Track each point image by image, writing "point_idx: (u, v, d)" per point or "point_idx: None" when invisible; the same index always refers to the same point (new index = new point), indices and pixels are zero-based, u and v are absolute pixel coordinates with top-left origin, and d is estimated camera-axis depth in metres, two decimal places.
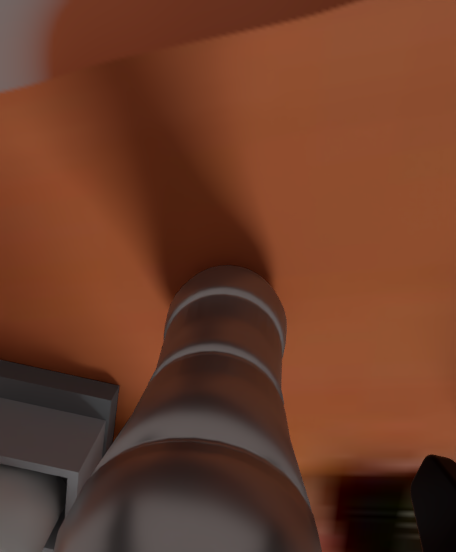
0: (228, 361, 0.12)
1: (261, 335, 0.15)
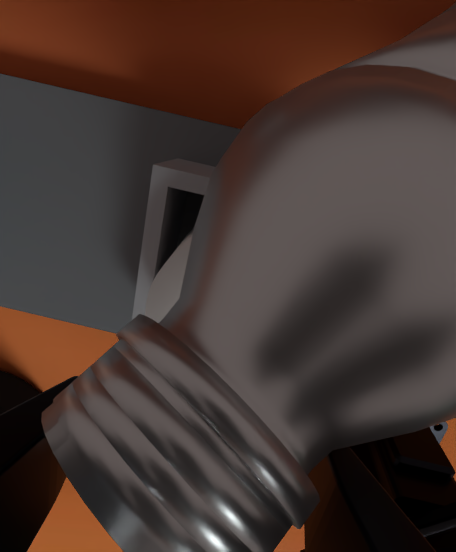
0: None
1: None
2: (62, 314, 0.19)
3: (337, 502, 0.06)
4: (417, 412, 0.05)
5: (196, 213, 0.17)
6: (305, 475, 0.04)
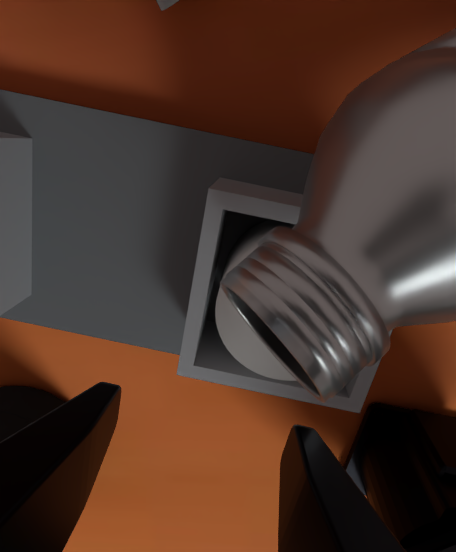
0: None
1: None
2: (101, 332, 0.19)
3: (307, 495, 0.06)
4: (446, 251, 0.07)
5: (237, 230, 0.17)
6: (356, 283, 0.07)
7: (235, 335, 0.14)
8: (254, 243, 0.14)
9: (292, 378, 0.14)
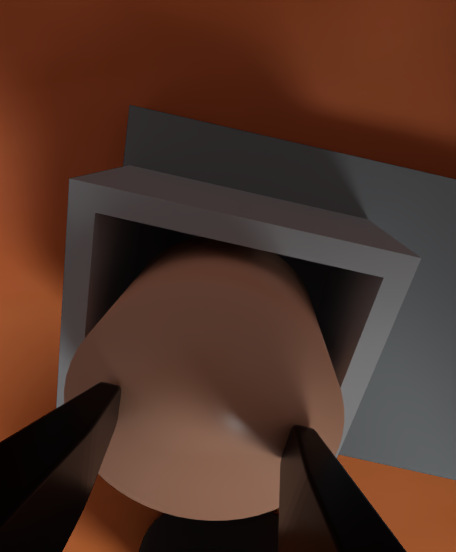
0: None
1: None
2: (382, 456, 0.15)
3: (306, 495, 0.06)
4: None
5: None
6: None
7: None
8: None
9: None
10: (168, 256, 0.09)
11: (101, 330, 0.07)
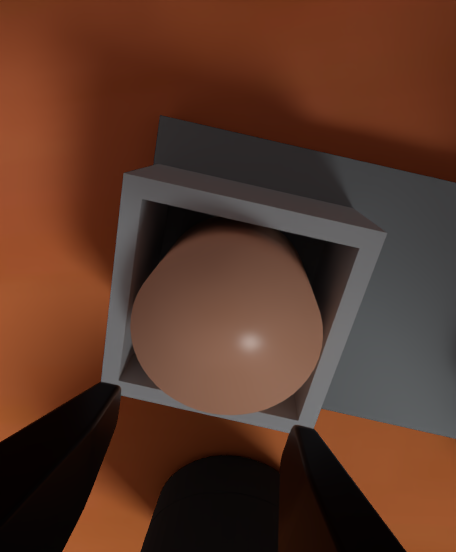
0: None
1: None
2: (368, 412, 0.17)
3: (306, 495, 0.06)
4: None
5: None
6: None
7: None
8: None
9: None
10: (198, 228, 0.13)
11: (159, 271, 0.10)
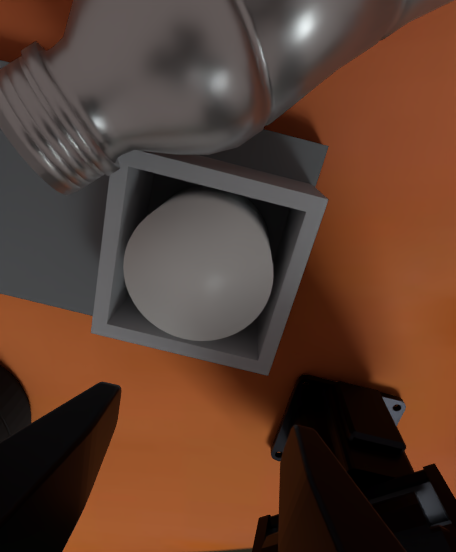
0: None
1: None
2: (31, 295, 0.20)
3: (306, 495, 0.06)
4: None
5: (163, 196, 0.17)
6: (36, 42, 0.10)
7: (144, 293, 0.14)
8: (164, 203, 0.14)
9: (200, 338, 0.15)
10: None
11: None
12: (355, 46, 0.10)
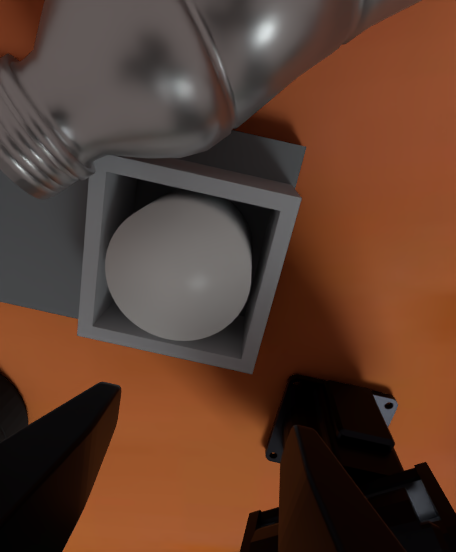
0: None
1: None
2: (23, 301, 0.20)
3: (306, 495, 0.06)
4: (43, 6, 0.10)
5: (147, 200, 0.18)
6: (8, 54, 0.11)
7: (126, 295, 0.15)
8: None
9: (183, 338, 0.15)
10: None
11: None
12: (315, 52, 0.11)
